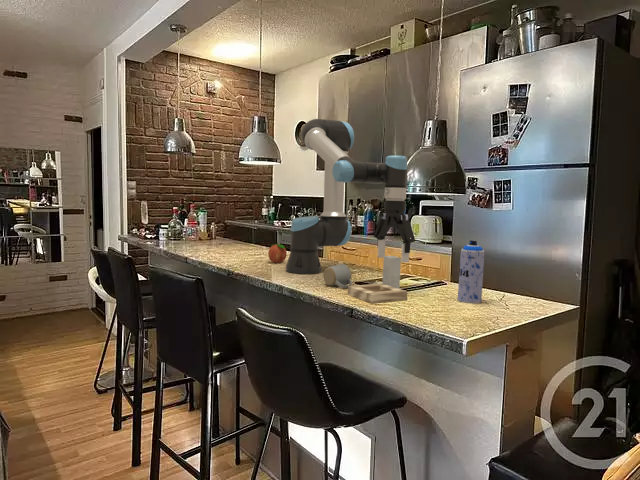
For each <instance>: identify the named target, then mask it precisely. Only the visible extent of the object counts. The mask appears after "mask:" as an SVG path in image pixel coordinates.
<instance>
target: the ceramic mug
mask: <svg viewBox="0 0 640 480" xmlns="http://www.w3.org/2000/svg"><path fill="white" fill-rule="evenodd" d="M322 277H323V281H324V283H325V284H326V285H327V286H328V287H339V288H342V289H347V290H348V286H353V285H352V280H351V279H352V272H351V270H350V267H349V266H348V265H346V264H343V263H340V264H336V265H331V266H328V267H326V268H325V269H324V271H323V274H322Z"/></svg>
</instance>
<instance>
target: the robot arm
mask: <svg viewBox="0 0 640 480" xmlns="http://www.w3.org/2000/svg"><path fill="white" fill-rule="evenodd" d="M300 138H301V141H302V143H303V144H304V146H305V147H306V148H307V149H309V150H311V151H313V152H315V153H316V154H317V155H318V156H319V157H320V158H321V159H322V160H323V161H324V175H323V176H324V180H323V182H324V184H323V185H324V186H323V210H322V211H323V212H322V213H320V215H319V217H318V216H316V215H315V216H313V215H311V216H300V217H295V218H293V219H292V221H291V225H290V253H289V255H288V259H287V261H286V265H285V271H286V272H287V273H292V274H297V275H298V274H302V275H303V274H304V275H311V274H319V273H321V272H322V264H321V261H320V257H319V252H318V250H319V249H318V248H319V247H338V246H340V247H341V246H344V245H346V244H347V243H348V242H349V240H350V238H351V235H352V225H351V222H350V221H349V220H348V219H347V215H346V213H345V212H344V198H345V197H344V193H345V192H344V191H345V184H346V183H353V184H354V183H356V184H359V183H360V184H363V183H364V184H372V185H379V184H384V196H383V197H384V202H383V211H384V212H380V214H379V218H378V222H377V224H376V225H377V226H376V229H375V231H374V234H373V237H374V238H376V240H377V258H378V259H380V258H381V259H382V258H383V259H384V256H386V236H387V235H388V232H389V231H390V229H391V228H393V227H395V228H396V229H397V231H398V234H399V235H400V237H401V239H402V243H401V256H400V258H401V264H403V263H410V252H411V244H412V243H415V241H416V238H415V235H414V234H415V233H414V231H413V227H412V223H411V218H410V217H411V216H410V214H405V213H404V212H405V211H406V208H407V207H406V199H407V178H408V160H407V159H408V158H407V157H406V156H405V155H388V156H386V157H385V161H384V162H367V161H366V162H365V161H358V160H357V161H356V160H353V158H352V157H350V156H349V155H348V154H349V150H350V149H352V148H353V145H354V143H355V132H354V128H353V127H352V126H351V124H350V123H348V122H347V121H342V120H333V119H322V118H313V119H310V120H309V121H307V122H306V123H305V124H304V125H303V126H302V128H301V131H300Z"/></svg>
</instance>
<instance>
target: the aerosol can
mask: <svg viewBox="0 0 640 480" xmlns="http://www.w3.org/2000/svg"><path fill="white" fill-rule="evenodd" d="M459 255H460V260H459V275H458V277H459V278H458V289H457V298H456V300H457V301H458V302H460V303H465V304H473V305H474V304H481V303H482V302H483V300H482V297H483V295H482V293H483V282H484V281H483V279H484V266H485V250H484V249H483V247H482V246H480V245H479V244H478V241H477V240H469V243H467V245H464V246H463V248H461V251H460V254H459Z"/></svg>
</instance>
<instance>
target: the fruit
mask: <svg viewBox="0 0 640 480" xmlns="http://www.w3.org/2000/svg"><path fill="white" fill-rule="evenodd" d="M286 258H287V250H286V247H285V245H283V244H279V241H276V243H275V244H269V249H268V259H269V261H270V262H272V263H274V264H281V263H283V262H284V261H285V260H286Z"/></svg>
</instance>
